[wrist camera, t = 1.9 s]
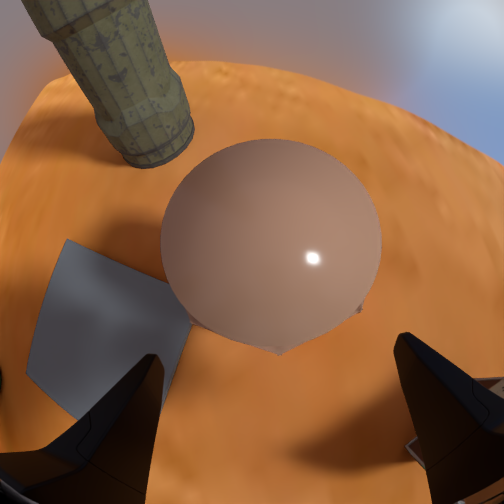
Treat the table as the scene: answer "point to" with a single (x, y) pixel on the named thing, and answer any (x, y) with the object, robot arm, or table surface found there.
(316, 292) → the brown piece
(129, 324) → the slate mat
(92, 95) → the thermos
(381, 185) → the table surface
